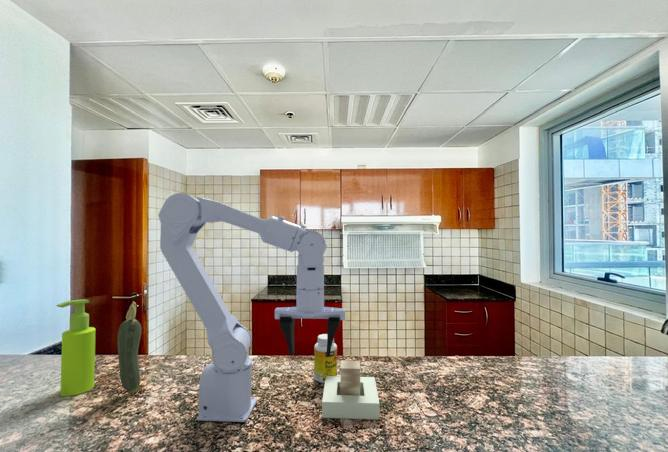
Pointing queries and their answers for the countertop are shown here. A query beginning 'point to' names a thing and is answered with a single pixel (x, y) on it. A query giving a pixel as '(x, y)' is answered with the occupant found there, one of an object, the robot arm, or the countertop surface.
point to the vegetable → (129, 351)
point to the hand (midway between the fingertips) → (310, 353)
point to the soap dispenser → (77, 352)
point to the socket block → (350, 400)
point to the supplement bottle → (324, 359)
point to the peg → (350, 378)
